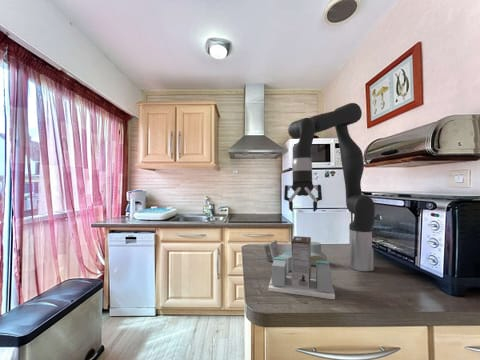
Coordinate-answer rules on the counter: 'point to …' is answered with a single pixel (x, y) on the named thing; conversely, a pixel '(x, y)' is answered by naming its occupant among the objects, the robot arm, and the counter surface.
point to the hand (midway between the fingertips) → (302, 211)
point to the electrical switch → (272, 250)
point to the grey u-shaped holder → (284, 284)
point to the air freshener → (317, 253)
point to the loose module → (289, 260)
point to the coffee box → (301, 261)
